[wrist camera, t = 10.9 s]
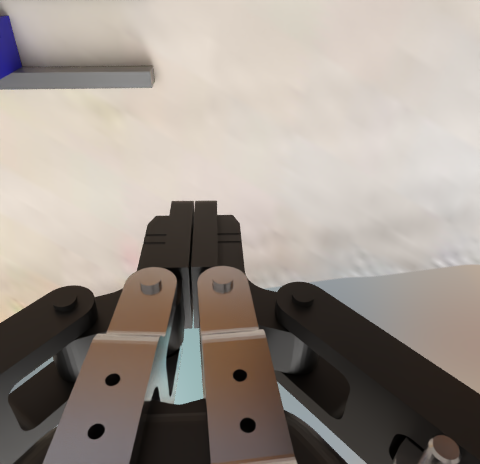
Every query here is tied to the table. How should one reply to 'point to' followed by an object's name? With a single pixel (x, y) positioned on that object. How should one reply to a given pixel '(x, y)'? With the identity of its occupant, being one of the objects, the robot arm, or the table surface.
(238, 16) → the table surface
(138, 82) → the grey u-shaped bracket
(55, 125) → the table surface
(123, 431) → the robot arm
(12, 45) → the blue u-shaped block
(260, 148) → the table surface
